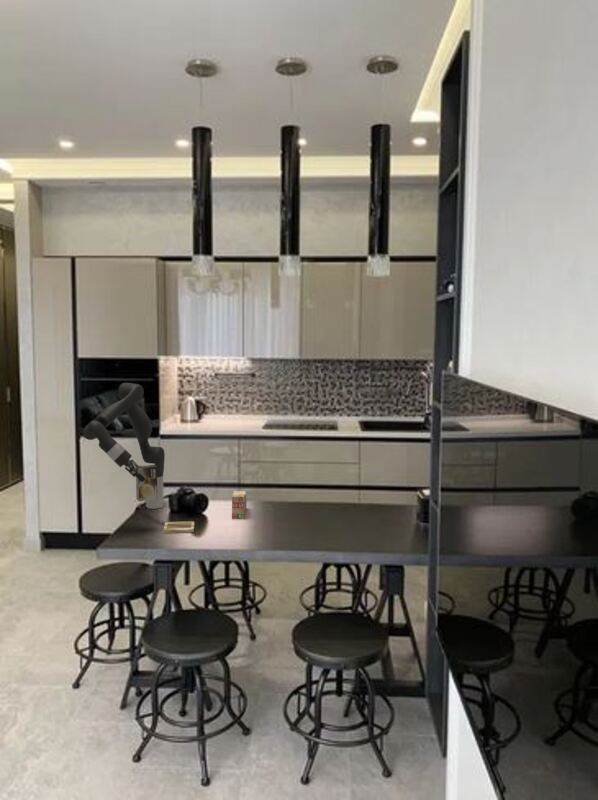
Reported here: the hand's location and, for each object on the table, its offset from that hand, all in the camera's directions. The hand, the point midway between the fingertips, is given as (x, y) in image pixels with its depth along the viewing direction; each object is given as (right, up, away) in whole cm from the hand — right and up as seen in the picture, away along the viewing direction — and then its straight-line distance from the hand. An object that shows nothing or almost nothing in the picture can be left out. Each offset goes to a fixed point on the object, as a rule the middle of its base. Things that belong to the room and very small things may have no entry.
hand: (144, 478), depth 291 cm
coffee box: (+1, -10, +1) cm, 10 cm away
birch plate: (+16, -25, +4) cm, 29 cm away
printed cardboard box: (+42, -23, +33) cm, 58 cm away
